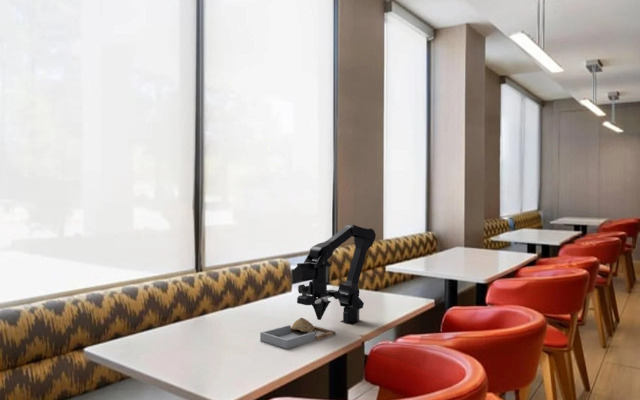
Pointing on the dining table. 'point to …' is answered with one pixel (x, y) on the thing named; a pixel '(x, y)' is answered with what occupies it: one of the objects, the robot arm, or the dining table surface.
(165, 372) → the dining table surface
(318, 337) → the cradle
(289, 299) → the dining table surface
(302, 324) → the seashell
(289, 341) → the tray
